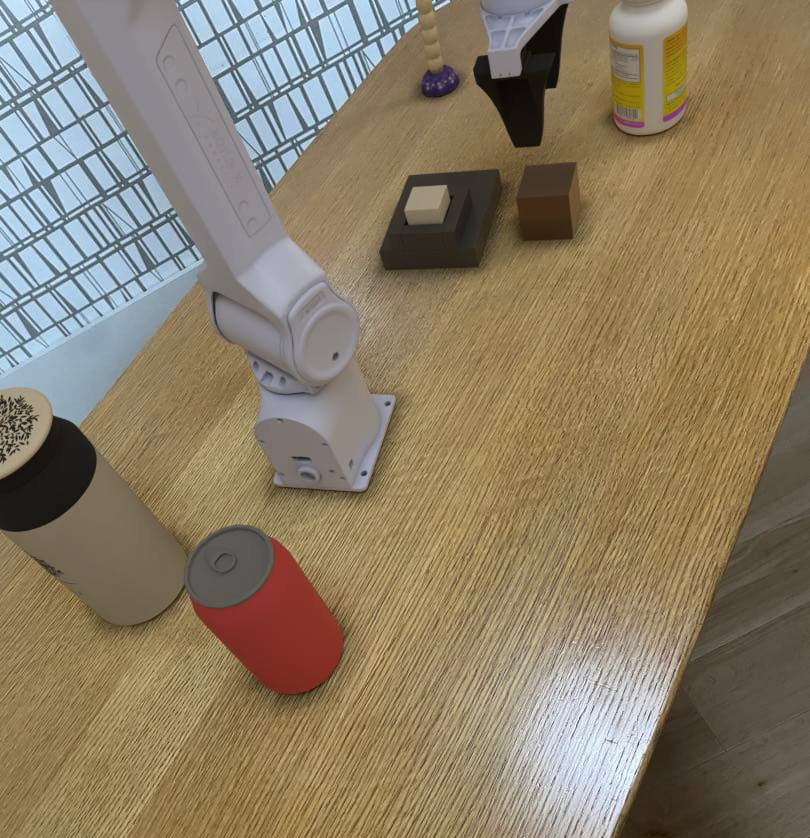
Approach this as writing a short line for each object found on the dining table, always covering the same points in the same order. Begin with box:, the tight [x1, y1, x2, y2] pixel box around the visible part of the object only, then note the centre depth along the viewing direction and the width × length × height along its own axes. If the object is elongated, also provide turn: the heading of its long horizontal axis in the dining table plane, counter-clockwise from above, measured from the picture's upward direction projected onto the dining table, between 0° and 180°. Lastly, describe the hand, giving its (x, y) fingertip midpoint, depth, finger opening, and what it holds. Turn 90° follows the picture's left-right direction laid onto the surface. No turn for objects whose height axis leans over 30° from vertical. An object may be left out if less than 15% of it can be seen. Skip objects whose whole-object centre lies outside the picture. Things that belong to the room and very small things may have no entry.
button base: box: [378, 168, 503, 271], centre depth 77 cm, size 11×9×4 cm
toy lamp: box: [414, 0, 460, 98], centre depth 86 cm, size 5×5×17 cm
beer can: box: [183, 523, 344, 695], centre depth 53 cm, size 7×7×12 cm
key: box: [404, 185, 450, 225], centre depth 74 cm, size 3×3×2 cm
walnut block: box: [515, 161, 582, 242], centre depth 74 cm, size 4×4×4 cm
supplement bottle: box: [608, 0, 689, 136], centre depth 75 cm, size 7×7×13 cm
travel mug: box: [0, 386, 188, 626], centre depth 57 cm, size 8×8×18 cm
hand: (536, 115), depth 67 cm, fingers open, 7 cm apart
